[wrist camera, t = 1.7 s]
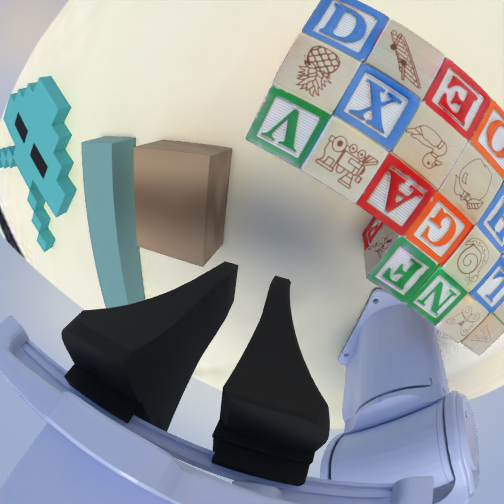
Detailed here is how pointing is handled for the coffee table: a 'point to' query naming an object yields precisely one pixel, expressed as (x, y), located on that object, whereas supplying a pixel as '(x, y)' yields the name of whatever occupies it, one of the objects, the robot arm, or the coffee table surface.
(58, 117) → the alien figure
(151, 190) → the walnut block
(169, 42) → the coffee table surface
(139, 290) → the teal bar
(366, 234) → the stack of blocks
